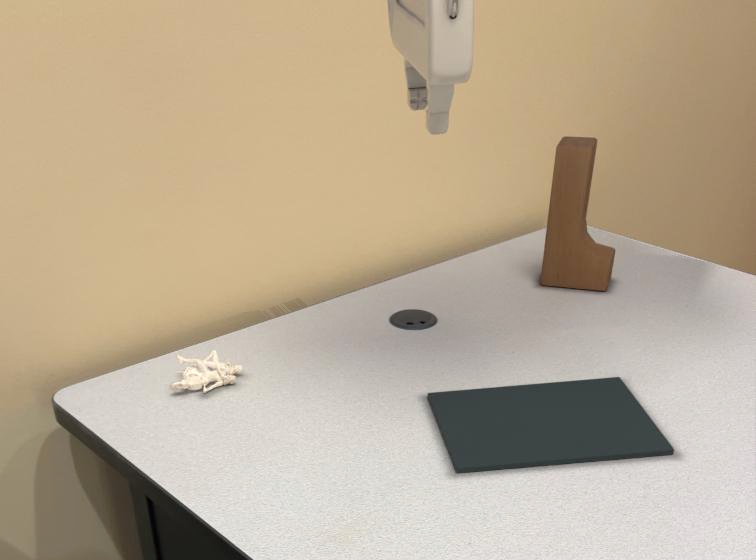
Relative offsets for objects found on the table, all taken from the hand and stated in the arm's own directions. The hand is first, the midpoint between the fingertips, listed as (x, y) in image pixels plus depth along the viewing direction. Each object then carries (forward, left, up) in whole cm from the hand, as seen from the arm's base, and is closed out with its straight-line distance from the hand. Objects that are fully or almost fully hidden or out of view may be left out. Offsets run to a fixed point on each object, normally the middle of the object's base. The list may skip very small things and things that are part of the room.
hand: (426, 120), depth 84 cm
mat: (-12, +10, -28) cm, 32 cm away
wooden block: (-27, -27, -28) cm, 48 cm away
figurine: (+24, -6, -28) cm, 38 cm away
